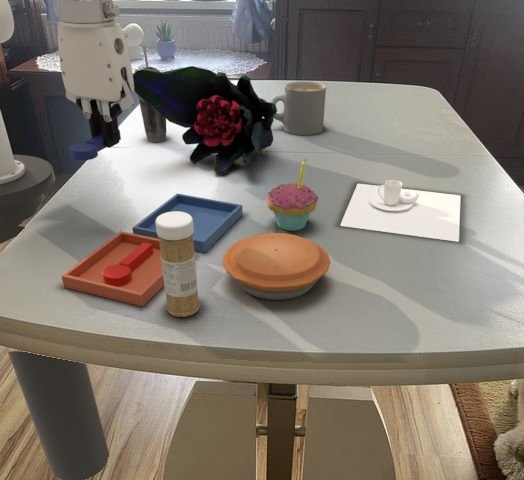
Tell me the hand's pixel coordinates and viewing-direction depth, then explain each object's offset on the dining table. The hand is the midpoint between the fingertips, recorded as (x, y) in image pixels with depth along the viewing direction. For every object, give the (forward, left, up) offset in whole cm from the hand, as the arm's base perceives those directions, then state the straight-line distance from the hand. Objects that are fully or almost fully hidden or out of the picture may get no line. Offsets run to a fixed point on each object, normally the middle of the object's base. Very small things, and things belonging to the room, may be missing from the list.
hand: (106, 143), depth 89 cm
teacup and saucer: (+46, +23, -13) cm, 53 cm away
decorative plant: (+6, +31, -13) cm, 34 cm away
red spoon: (+12, -15, -13) cm, 23 cm away
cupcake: (+29, +9, -13) cm, 33 cm away
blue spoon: (0, -3, 0) cm, 3 cm away
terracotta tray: (+12, -15, -13) cm, 23 cm away
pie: (+33, -9, -13) cm, 37 cm away
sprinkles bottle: (+24, -21, -13) cm, 34 cm away
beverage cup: (-16, +40, -13) cm, 45 cm away
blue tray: (+13, +2, -13) cm, 19 cm away
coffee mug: (+12, +61, -13) cm, 64 cm away
